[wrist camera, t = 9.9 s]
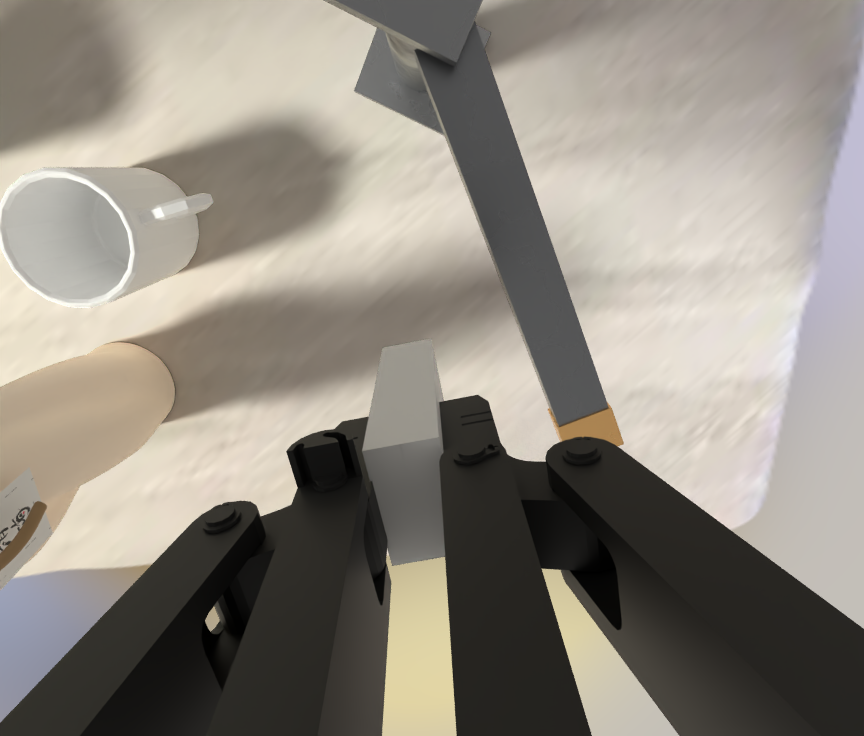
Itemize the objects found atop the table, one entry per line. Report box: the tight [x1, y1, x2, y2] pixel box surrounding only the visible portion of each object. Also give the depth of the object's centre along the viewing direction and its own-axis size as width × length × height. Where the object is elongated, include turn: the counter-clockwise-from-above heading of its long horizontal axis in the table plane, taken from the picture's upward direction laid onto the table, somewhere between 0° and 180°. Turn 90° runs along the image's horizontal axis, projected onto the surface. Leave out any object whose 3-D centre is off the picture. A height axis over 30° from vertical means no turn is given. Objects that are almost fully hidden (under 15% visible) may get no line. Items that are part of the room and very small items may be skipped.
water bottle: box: [0, 342, 175, 590], centre depth 33 cm, size 10×9×28 cm
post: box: [324, 0, 491, 135], centre depth 29 cm, size 7×7×22 cm
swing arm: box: [414, 21, 624, 446], centre depth 25 cm, size 19×3×2 cm, turn 23°
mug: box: [0, 167, 214, 308], centre depth 37 cm, size 8×12×10 cm
